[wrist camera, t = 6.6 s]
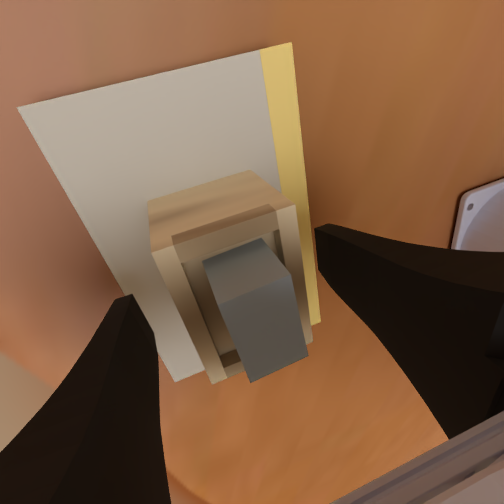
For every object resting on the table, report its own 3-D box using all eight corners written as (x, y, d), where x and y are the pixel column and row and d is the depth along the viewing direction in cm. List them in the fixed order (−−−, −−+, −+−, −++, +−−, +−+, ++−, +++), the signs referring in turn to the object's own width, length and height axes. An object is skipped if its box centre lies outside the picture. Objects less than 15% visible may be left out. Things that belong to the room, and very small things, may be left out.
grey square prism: (281, 311, 11) (308, 355, 9) (232, 333, 11) (250, 382, 9) (261, 237, 9) (290, 274, 8) (201, 260, 9) (217, 304, 7)
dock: (305, 301, 20) (320, 321, 18) (171, 354, 18) (175, 382, 16) (270, 47, 12) (291, 41, 10) (35, 103, 10) (16, 107, 9)
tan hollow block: (273, 282, 15) (312, 341, 12) (194, 312, 15) (212, 384, 11) (250, 169, 12) (295, 204, 9) (147, 200, 11) (151, 252, 8)
